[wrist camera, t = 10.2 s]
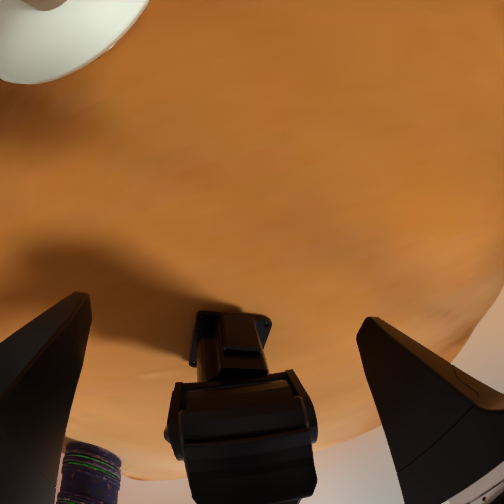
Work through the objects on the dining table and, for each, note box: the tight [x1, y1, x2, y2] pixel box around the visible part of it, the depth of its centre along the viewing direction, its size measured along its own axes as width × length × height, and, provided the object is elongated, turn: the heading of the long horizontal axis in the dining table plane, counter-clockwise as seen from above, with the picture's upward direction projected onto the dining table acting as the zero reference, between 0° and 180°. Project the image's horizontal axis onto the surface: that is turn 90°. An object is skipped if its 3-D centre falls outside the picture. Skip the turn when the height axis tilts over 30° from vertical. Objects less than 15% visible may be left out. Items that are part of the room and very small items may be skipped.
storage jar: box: [56, 442, 121, 504], centre depth 27 cm, size 10×10×15 cm
